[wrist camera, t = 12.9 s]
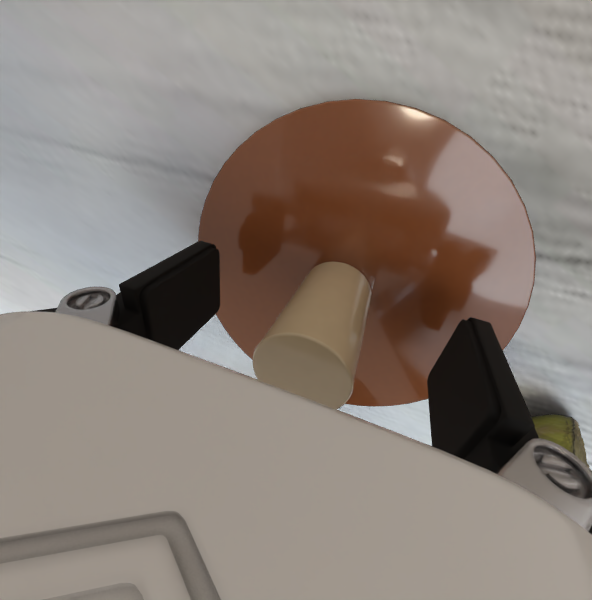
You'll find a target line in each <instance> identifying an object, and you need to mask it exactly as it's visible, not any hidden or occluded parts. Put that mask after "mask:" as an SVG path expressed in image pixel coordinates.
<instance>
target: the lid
mask: <svg viewBox="0 0 592 600" xmlns="http://www.w3.org/2000/svg"><path fill="white" fill-rule="evenodd" d="M199 241H204V242H207V243H211V244H214V245H215V246H216V249H218V250H219V254H220V308H219V310H218V312H217V313H216V315H217V317H218V319H219V320H220V322H221V323H222V325H223V327H224V328H225V330H226V331H227V332H228V334H229V335H230V336H231V338H232V339H233V340H234V342H235V343H236V344H237V345H238V346H239V347H240V348H241V349H242V350H243V351H244V353H246V354H247V355H248V356H249V357H250V358H251V359H252V360H253V368H254V372H255V375H256V377H257V379H258V380H260V381H262V382H265V383H268V384H270V385H273V386H275V387H278V388H281V389H283V390H286V391H289V392H291V393H294V394H297V395H299V396H302V397H305V398H307V399H310V400H313V401H315V402H318V403H320V404H323V405H326V406H328V407H331V408H334V409H338V408H340V407H342V406H343V405H344V404H351V405H357V406H394V405H401V404H408V403H413V402H417V401H421V400H425V399H428V387H427V380H428V376H429V373H430V371H431V370H432V368H433V366H434V365H435V363H436V361H437V360H438V358H439V356H440V355H441V353H442V351H443V349H444V348H445V346H446V344H447V343H448V341H449V339H450V338H451V336H452V334H453V333H454V331H455V329H456V327H457V326H458V324H459V323H460V321H461V320H463V319H464V320H467V319H468V318H470V317H472V318H476V319H479V320H483V321H486V322H490V323H491V325H492V328H493V330H494V332H495V334H496V337H497V339H498V341H499V344H500V346H501V348H502V350H503V349H504V348H505V347H506V346H507V345H508V343H509V342H510V340H511V339H512V337H513V335H514V334H515V332H516V331H517V329H518V328H519V326H520V324H521V321H522V319H523V317H524V315H525V312H526V310H527V308H528V305H529V302H530V297H531V293H532V289H533V285H534V280H535V264H536V253H535V245H534V237H533V230H532V227H531V224H530V220H529V217H528V214H527V211H526V207H525V205H524V203H523V201H522V199H521V197H520V195H519V193H518V191H517V189H516V188H515V186H514V184H513V182H512V180H511V179H510V177H509V176H508V175H507V174H506V172H505V171H504V170H503V168H502V167H501V166H500V165H499V163H498V162H497V161H496V159H495V158H494V157H493V156H492V155H491V154H490V153H489V152H488V151H486V150H485V149H484V148H483V147H482V146H481V145H480V144H479V143H478V142H476V141H475V140H474V139H473V138H472V137H471V136H469V135H468V134H466V133H465V132H463V131H461V130H460V129H458V128H457V127H455V126H453V125H452V124H450V123H449V122H447V121H445V120H443V119H441V118H439V117H436V116H434V115H431V114H429V113H427V112H424V111H422V110H419V109H417V108H414V107H409V106H405V105H401V104H396V103H392V102H388V101H378V100H364V99H350V100H339V101H328V102H324V103H320V104H316V105H312V106H308V107H304V108H300V109H298V110H296V111H293V112H291V113H289V114H286V115H284V116H282V117H279V118H277V119H275V120H274V121H272V122H271V123H269V124H267V125H266V126H264V127H263V128H261V129H260V130H258V131H256V132H255V133H254V134H253V135H252V136H250V137H249V138H248V139H247V140H246V141H245V142H244V143H242V144H241V145H240V146H239V147H238V148H237V149H236V150H235V152H234V153H233V154H232V155H231V156H230V158H229V159H228V160H227V161H226V162H225V164H224V165H223V167H222V168H221V170H220V172H219V173H218V175H217V177H216V178H215V180H214V181H213V184H212V186H211V188H210V191H209V193H208V195H207V198H206V200H205V204H204V207H203V211H202V215H201V219H200V227H199V234H198V242H199Z"/></svg>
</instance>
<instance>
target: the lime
mask: <svg viewBox="0 0 592 600" xmlns="http://www.w3.org/2000/svg"><path fill="white" fill-rule="evenodd" d="M531 418H532V420H533V422H534V425H535V426H534V427H535V430H536V432H537V434H538V437H539V438H542V439H545V440H549V441H552V442H554V443H556V444H558V445H560V446H562V447H564V448H565V449H567V450H568V451H570V452H571V453H573V454H574V455H575V456H577V457H578V458H579V459H580V460H581V461H582V462H584V463H585V464H586V465H587V467H588V468H589V465H588V464H587V462H586V452H585V448H584V442H583V439H582V437H581V434H580V429H579V427H578V426H579V425H578V422H577V421H576V420H574V419H573V418H572V417H566V416H563V415H542V416H535V417H531Z"/></svg>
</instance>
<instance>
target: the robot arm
mask: <svg viewBox="0 0 592 600" xmlns="http://www.w3.org/2000/svg"><path fill="white" fill-rule="evenodd" d="M119 287H120V291H121V292H120V293H119V294H117V295H116V293H115V292H114V291H113V290H112V289H109V288H106V287H87V288H82V289H78V290H76V291H73V292H71V293H69V294H68V295H66V296H65V297H64V298H63V299H62V300H61V301H60V304H59V306H58V308H53V309H45V310H37V311H28V312H12V313H5V314H1V315H0V600H592V471H591V470H590V469H589V468H588V467H587V465H586V464H585V463H584V462H582V461H581V460H580V459H579V458H578V457H577V456H575V455H574V454H573V453H571V452H570V451H568V450H567V449H565V448H564V447H562V446H560V445H558V444H556V443H554V442H552V441H549V440H545V439H542V438H539V437H538V434H537V432H536V430H535V427H534V426H535V425H534V422H533V420H532V418H531V415H530V413H529V411H528V408H527V406H526V404H525V401H524V399H523V397H522V395H521V392H520V390H519V388H518V385H517V383H516V381H515V378H514V376H513V374H512V371H511V369H510V367H509V364H508V362H507V360H506V358H505V355H504V353H503V351H502V348H501V346H500V344H499V341H498V339H497V337H496V334H495V332H494V330H493V328H492V325H491V323H490V322H486V321H483V320H479V319H476V318H472V317H470V318H468V319H467V320H464V319H463V320H461V321H460V323H459V324H458V326H457V327H456V329H455V331H454V333H453V334H452V336H451V338H450V339H449V341H448V343H447V344H446V346H445V348H444V349H443V351H442V353H441V355H440V356H439V358H438V360H437V361H436V363H435V365H434V366H433V368H432V370H431V371H430V373H429V376H428V380H427V387H428V399H429V411H430V424H431V436H432V446H430V445H427V444H424V443H422V442H419V441H416V440H414V439H411V438H409V437H406V436H404V435H401V434H399V433H396V432H394V431H391V430H388V429H386V428H383V427H381V426H378V425H375V424H373V423H370V422H368V421H365V420H362V419H360V418H357V417H354V416H352V415H349V414H347V413H344V412H341V411H339V410H336V409H334V408H331V407H328V406H326V405H323V404H320V403H318V402H315V401H313V400H310V399H307V398H305V397H302V396H299V395H297V394H294V393H291V392H289V391H286V390H283V389H281V388H278V387H275V386H273V385H270V384H268V383H265V382H262V381H260V380H257V379H254V378H252V377H249V376H246V375H244V374H241V373H238V372H236V371H233V370H230V369H228V368H225V367H222V366H220V365H217V364H214V363H211V362H209V361H206V360H203V359H201V358H198V357H195V356H192V355H190V354H187V353H184V352H182V351H179V349H180V348H181V347H182V346H183V345H184V344H185V343H186V342H187V341H188V340H189V339H190V338H191V337H192V336H193V335H194V334H195V333H196V332H197V331H198V330H199V329H200V328H201V327H202V326H203V325H205V324H206V323H207V322H208V321H209V320H210V319H211V318H212V317H213V316H214V315H215V314H216V313H217V312H218V310H219V308H220V254H219V250H218V249H216V246H215V245H214V244H211V243H207V242H204V241H199V242H197V243H195V244H193V245H191V246H189V247H187V248H186V249H184V250H182V251H180V252H178V253H176V254H174V255H173V256H171V257H169V258H167V259H165V260H163V261H162V262H160V263H158V264H156V265H154V266H152V267H150V268H149V269H147V270H145V271H143V272H141V273H139V274H137V275H136V276H134V277H132V278H130V279H128V280H126V281H125V282H123V283H121V284H119Z"/></svg>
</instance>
